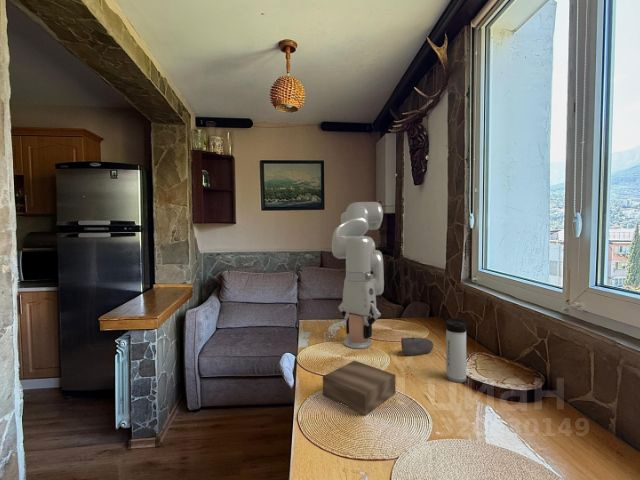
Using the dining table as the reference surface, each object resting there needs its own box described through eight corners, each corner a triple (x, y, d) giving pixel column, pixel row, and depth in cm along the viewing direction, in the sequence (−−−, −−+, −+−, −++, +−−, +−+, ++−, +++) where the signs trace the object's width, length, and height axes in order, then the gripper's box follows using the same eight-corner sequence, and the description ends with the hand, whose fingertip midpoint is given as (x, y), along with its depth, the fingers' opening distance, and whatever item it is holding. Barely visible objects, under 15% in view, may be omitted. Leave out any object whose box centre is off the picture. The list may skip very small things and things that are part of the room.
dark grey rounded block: (430, 350, 132) (430, 334, 132) (436, 355, 127) (436, 338, 127) (397, 353, 130) (396, 336, 129) (402, 358, 124) (402, 340, 124)
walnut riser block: (354, 377, 108) (354, 360, 108) (395, 393, 97) (395, 374, 97) (322, 395, 96) (322, 376, 96) (365, 415, 85) (365, 394, 85)
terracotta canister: (356, 335, 100) (356, 310, 100) (372, 339, 96) (372, 313, 96) (345, 340, 96) (344, 314, 96) (360, 344, 92) (360, 317, 92)
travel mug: (465, 375, 109) (464, 318, 108) (467, 384, 102) (467, 323, 102) (445, 372, 111) (445, 317, 110) (446, 381, 104) (446, 322, 104)
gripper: (389, 278, 92) (389, 338, 93) (344, 273, 104) (344, 327, 105) (375, 281, 87) (375, 345, 87) (329, 276, 99) (329, 332, 99)
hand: (358, 334), depth 96 cm, fingers closed on terracotta canister, 6 cm apart
